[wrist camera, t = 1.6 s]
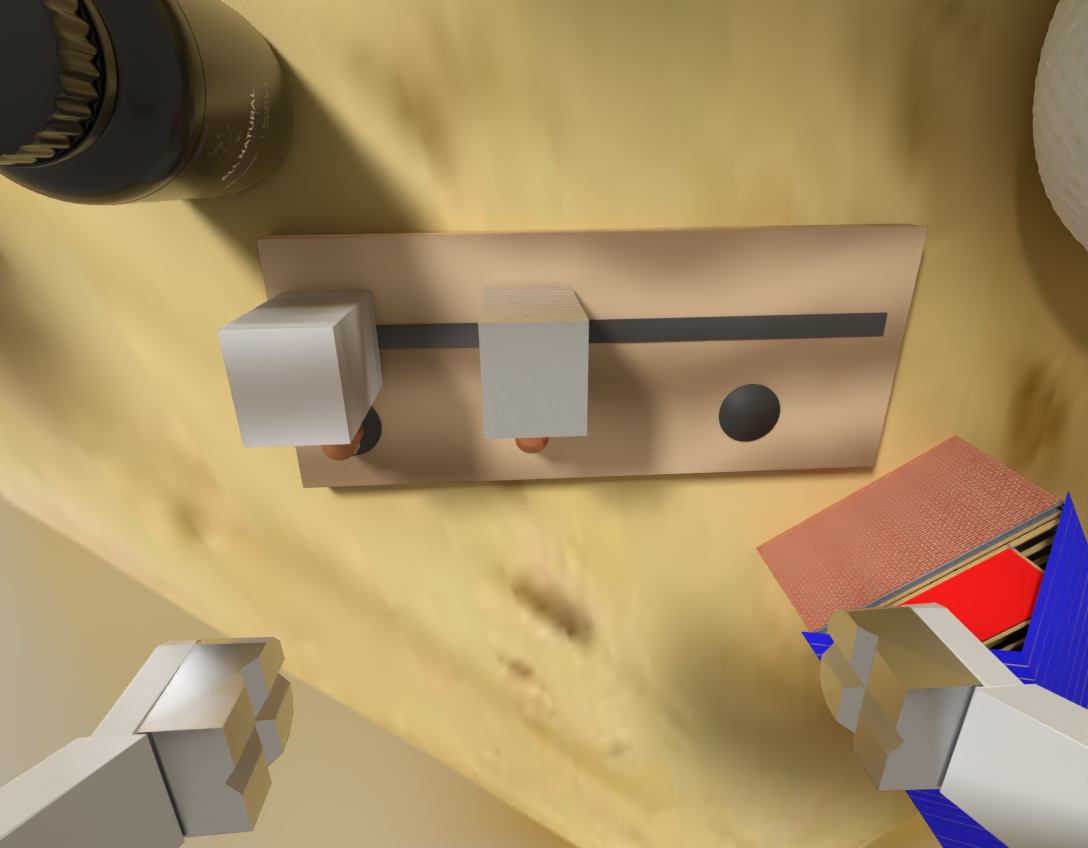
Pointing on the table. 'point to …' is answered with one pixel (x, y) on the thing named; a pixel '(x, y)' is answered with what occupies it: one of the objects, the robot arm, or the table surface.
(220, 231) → the table surface
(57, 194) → the supplement bottle
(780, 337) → the board
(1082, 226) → the cereal bowl
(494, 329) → the block
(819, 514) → the house
